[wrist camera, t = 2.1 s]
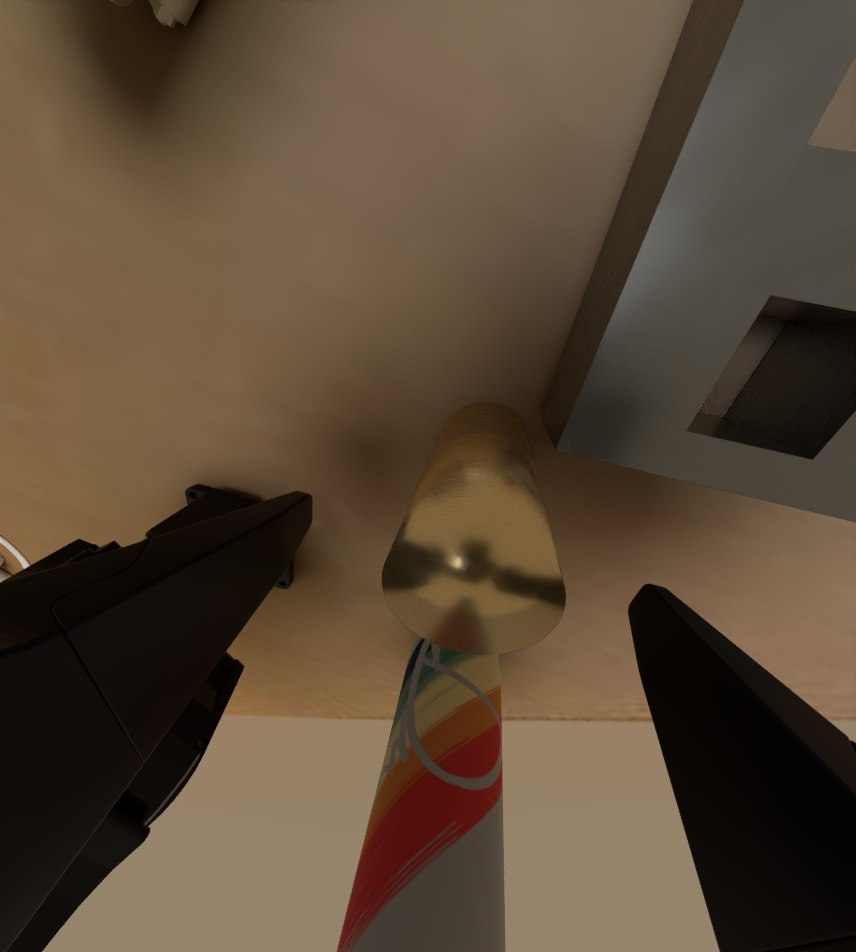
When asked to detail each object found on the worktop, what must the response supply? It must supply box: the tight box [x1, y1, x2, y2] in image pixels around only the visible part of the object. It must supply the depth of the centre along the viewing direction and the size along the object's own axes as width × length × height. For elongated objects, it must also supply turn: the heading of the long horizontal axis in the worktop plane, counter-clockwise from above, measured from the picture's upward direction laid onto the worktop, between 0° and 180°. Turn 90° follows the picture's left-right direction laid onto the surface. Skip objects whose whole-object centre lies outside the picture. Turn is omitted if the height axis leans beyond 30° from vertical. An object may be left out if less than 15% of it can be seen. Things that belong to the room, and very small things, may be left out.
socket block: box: [540, 0, 856, 522], centre depth 8 cm, size 14×10×4 cm
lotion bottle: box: [337, 634, 505, 952], centre depth 13 cm, size 6×6×20 cm
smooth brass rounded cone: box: [382, 403, 566, 655], centre depth 11 cm, size 4×4×9 cm
